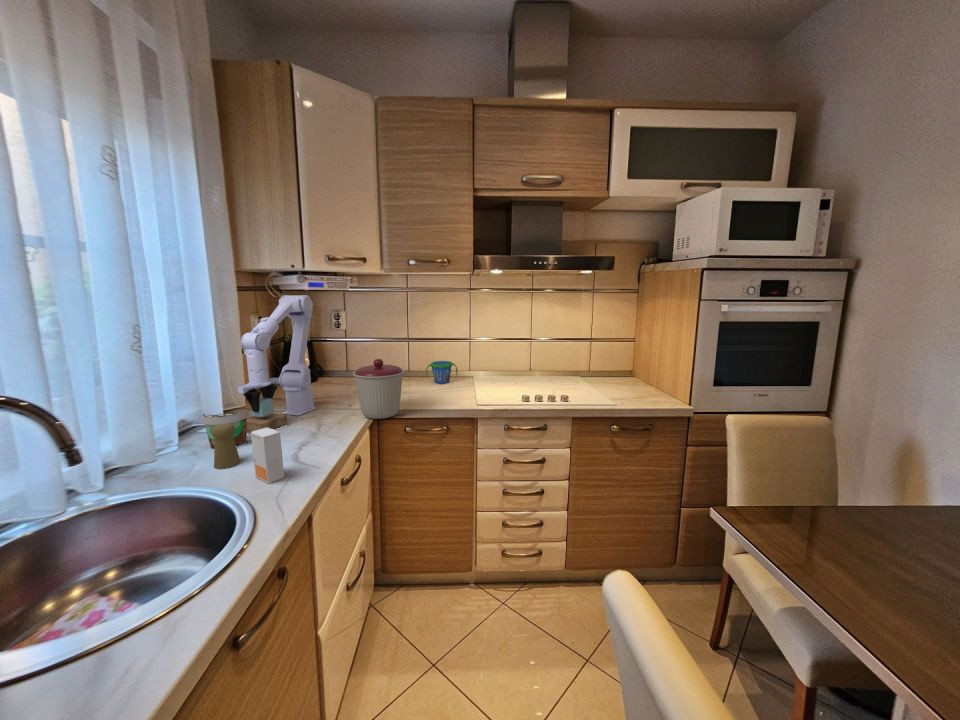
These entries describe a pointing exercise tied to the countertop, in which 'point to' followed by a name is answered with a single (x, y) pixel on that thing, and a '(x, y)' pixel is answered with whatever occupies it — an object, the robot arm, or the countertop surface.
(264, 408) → the teal block
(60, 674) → the countertop surface
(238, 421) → the food container
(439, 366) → the snack cup
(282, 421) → the walnut block
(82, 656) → the countertop surface
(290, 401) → the robot arm
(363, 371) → the canister
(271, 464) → the skincare box
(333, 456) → the countertop surface
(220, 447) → the cork
